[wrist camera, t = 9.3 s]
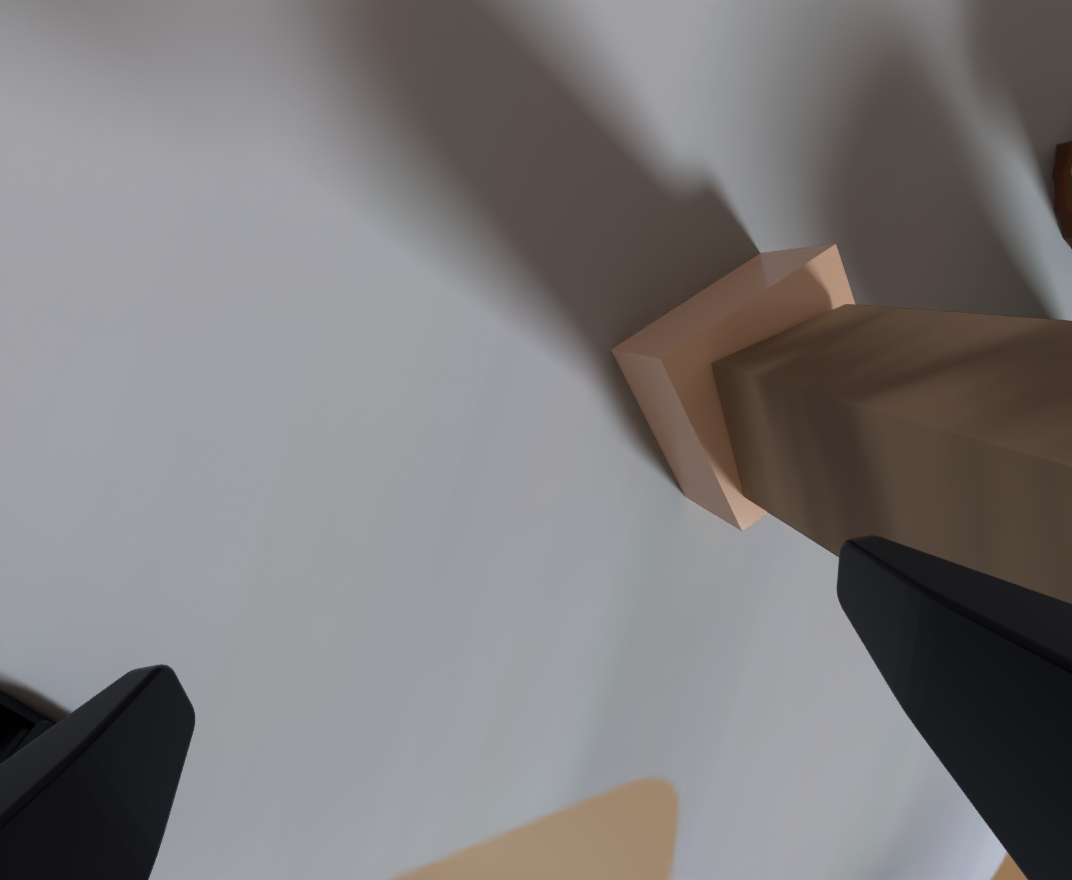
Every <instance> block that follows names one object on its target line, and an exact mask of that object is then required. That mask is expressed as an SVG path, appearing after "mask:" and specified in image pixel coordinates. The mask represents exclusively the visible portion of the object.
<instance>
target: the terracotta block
mask: <svg viewBox="0 0 1072 880" xmlns="http://www.w3.org/2000/svg"><path fill="white" fill-rule="evenodd" d="M844 304H855V301H854V298H853V295H852V292H851V289H850V286H849V283H848V280H847V276H846V273H845V270H844V267H843V264H842V261H841V258H840V255H839V252H838V249H837V246H836V244H831V245H822V246H814V247H806V248H797V249H789V250H781V251H773V252H764V253H759V254H758V255H756V256H755V257H753V258H752V259H750V260H749V261H747V262H745V263H744V264H742V265H741V266H739V267H738V268H736V269H735V270H733V271H732V272H730V273H728V274H727V275H725V276H724V277H722V278H721V279H719V280H718V281H716V282H715V283H713V284H711V285H710V286H708V287H707V288H705V289H704V290H702V291H701V292H699V293H698V294H696V295H694V296H693V297H691V298H690V299H688V300H687V301H685V302H684V303H682V304H681V305H679V306H677V307H676V308H674V309H673V310H671V311H670V312H668V313H667V314H665V315H664V316H662V317H660V318H659V319H657V320H656V321H654V322H653V323H651V324H650V325H648V326H646V327H645V328H643V329H642V330H640V331H639V332H637V333H636V334H634V335H633V336H631V337H629V338H628V339H626V340H625V341H623V342H622V343H620V344H619V345H617V346H616V347H614V348H612V349H611V351H612V353H613V355H614V357H615V359H616V361H617V362H618V364H619V366H620V368H621V370H622V372H623V374H624V376H625V378H626V380H627V382H628V384H629V386H630V388H631V390H632V392H633V394H634V396H635V398H636V400H637V402H638V404H639V406H640V408H641V410H642V412H643V414H644V416H645V418H646V420H647V422H648V424H649V426H650V428H651V430H652V432H653V434H654V436H655V438H656V440H657V442H658V444H659V446H660V448H661V450H662V452H663V454H664V456H665V458H666V460H667V462H668V463H669V465H670V467H671V469H672V471H673V473H674V475H675V477H676V479H677V481H678V483H679V485H680V487H681V489H682V491H683V493H684V495H685V497H687V498H688V499H690V500H691V501H693V502H695V503H696V504H698V505H700V506H701V507H703V508H705V509H706V510H708V511H710V512H711V513H713V514H715V515H716V516H718V517H720V518H721V519H723V520H724V521H726V522H728V523H729V524H731V525H733V526H734V527H736V528H738V529H739V530H741V531H743V530H744V529H746V528H747V527H749V526H750V525H751V524H753V523H754V522H756V521H757V520H758V519H760V518H761V517H762V516H764V515H765V514H767V513H768V512H767V511H765V510H764V509H762V508H760V507H759V506H757V505H756V504H754V503H753V502H751V501H749V500H748V499H746V498H745V497H744V494H743V490H742V486H741V482H740V478H739V474H738V470H737V466H736V462H735V458H734V454H733V450H732V446H731V441H730V437H729V433H728V429H727V425H726V421H725V417H724V413H723V409H722V405H721V401H720V397H719V393H718V389H717V385H716V381H715V377H714V373H713V369H712V365H711V363H712V362H715V361H717V360H719V359H722V358H724V357H726V356H728V355H731V354H733V353H735V352H737V351H740V350H742V349H744V348H747V347H749V346H751V345H753V344H756V343H758V342H760V341H762V340H765V339H767V338H769V337H772V336H774V335H776V334H778V333H781V332H783V331H785V330H788V329H790V328H792V327H794V326H797V325H799V324H801V323H803V322H806V321H808V320H810V319H813V318H815V317H817V316H819V315H822V314H824V313H826V312H828V311H831V310H833V309H835V308H838V307H840V306H842V305H844ZM855 305H856V304H855Z"/></svg>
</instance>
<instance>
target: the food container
mask: <svg viewBox="0 0 1072 880" xmlns="http://www.w3.org/2000/svg"><path fill="white" fill-rule="evenodd" d="M1053 193H1054V210H1055V213H1056V216H1057V220H1058V223H1059V226H1060V229H1061V232H1062V236H1063V238H1064V240H1065V241H1066V242H1067V244H1068V245H1069V246H1070V247H1071V249H1072V141H1070V142H1066V143H1062V144H1058V145H1057V146H1056V153H1055V160H1054V167H1053Z"/></svg>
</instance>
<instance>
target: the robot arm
mask: <svg viewBox="0 0 1072 880" xmlns="http://www.w3.org/2000/svg"><path fill="white" fill-rule="evenodd" d="M837 596H838V599H839V602H840V605H841V607H842V609H843V611H844V612H845V614H846V616H847V617H848V619H849V621H850V622H851V624H852V626H853V627H854V629H855V631H856V632H857V634H858V636H859V637H860V639H861V641H862V642H863V644H864V646H865V647H866V649H867V651H868V652H869V654H870V656H871V657H872V659H873V661H874V662H875V664H876V666H877V667H878V669H879V671H880V672H881V674H882V676H883V678H884V679H885V681H886V683H887V684H888V686H889V688H890V689H891V691H892V693H893V694H894V696H895V697H896V699H897V700H898V702H899V704H900V705H901V707H902V708H903V710H904V711H905V713H906V714H907V716H908V717H909V718H910V720H911V721H912V723H913V724H914V726H915V727H916V728H917V730H918V731H919V732H920V734H921V735H922V737H923V738H924V739H925V741H926V742H927V743H928V745H929V746H930V747H931V749H932V750H933V752H934V753H935V754H936V756H937V757H938V758H939V760H940V761H941V762H942V764H943V765H944V766H945V768H946V769H947V771H948V772H949V773H950V775H951V776H952V777H953V779H954V780H955V781H956V783H957V784H958V785H959V787H960V788H961V790H962V791H963V792H964V794H965V795H966V796H967V798H968V799H969V800H970V802H971V803H972V804H973V806H974V807H975V809H976V810H977V811H978V813H979V814H980V815H981V817H982V818H983V819H984V821H985V822H986V823H987V825H988V826H989V828H990V829H991V830H992V832H993V833H994V834H995V836H996V837H997V838H998V840H999V841H1000V843H1001V844H1002V845H1003V847H1004V848H1005V849H1006V851H1007V852H1008V853H1009V855H1010V856H1011V857H1012V859H1013V860H1014V861H1015V863H1016V864H1017V866H1018V867H1019V868H1020V870H1021V871H1022V872H1023V874H1024V875H1025V876H1026V878H1027V879H1028V880H1072V604H1071V603H1068V602H1065V601H1062V600H1059V599H1056V598H1054V597H1051V596H1048V595H1045V594H1042V593H1039V592H1036V591H1034V590H1031V589H1028V588H1025V587H1022V586H1019V585H1016V584H1014V583H1011V582H1008V581H1005V580H1002V579H999V578H996V577H994V576H991V575H988V574H985V573H982V572H979V571H977V570H974V569H971V568H968V567H965V566H962V565H959V564H957V563H954V562H951V561H948V560H945V559H942V558H940V557H937V556H934V555H931V554H928V553H925V552H922V551H920V550H917V549H914V548H911V547H908V546H905V545H903V544H900V543H897V542H894V541H891V540H888V539H885V538H883V537H880V536H876V535H869V536H863V537H858V538H852V539H848V540H846V541H844V542H843V543H842V545H841V547H840V553H839V566H838V578H837ZM194 726H195V713H194V708H193V706H192V704H191V702H190V700H189V698H188V696H187V695H186V693H185V691H184V689H183V687H182V685H181V683H180V682H179V680H178V678H177V676H176V674H175V672H174V671H173V669H172V668H170V667H169V666H167V665H155V666H149V667H144V668H138V669H134V670H132V671H130V672H128V673H126V674H125V675H124V676H122V677H121V678H119V679H118V680H117V681H115V682H114V683H112V684H111V685H110V686H108V687H107V688H106V689H104V690H103V691H101V692H100V693H99V694H97V695H96V696H94V697H93V698H92V699H90V700H89V701H87V702H86V703H85V704H83V705H82V706H81V707H79V708H78V709H76V710H75V711H74V712H72V713H71V714H69V715H68V716H67V717H65V718H64V719H63V720H61V721H60V722H58V723H55V722H53V721H52V720H50V719H48V718H46V717H45V716H43V715H41V714H40V713H38V712H36V711H35V710H33V709H31V708H30V707H28V706H26V705H24V704H23V703H21V702H19V701H18V700H16V699H14V698H13V697H11V696H9V695H8V694H6V693H4V692H2V691H1V690H0V880H149V877H150V874H151V871H152V869H153V866H154V863H155V860H156V857H157V855H158V851H159V848H160V845H161V842H162V839H163V836H164V833H165V829H166V826H167V822H168V819H169V815H170V812H171V808H172V805H173V801H174V798H175V794H176V791H177V787H178V784H179V780H180V777H181V773H182V770H183V766H184V763H185V759H186V756H187V752H188V749H189V745H190V742H191V738H192V735H193V731H194Z"/></svg>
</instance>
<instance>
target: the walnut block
mask: <svg viewBox="0 0 1072 880" xmlns="http://www.w3.org/2000/svg"><path fill="white" fill-rule="evenodd" d="M711 365H712V369H713V373H714V377H715V381H716V385H717V389H718V393H719V397H720V401H721V405H722V409H723V413H724V417H725V421H726V425H727V429H728V433H729V437H730V441H731V446H732V450H733V454H734V458H735V462H736V466H737V470H738V474H739V478H740V482H741V486H742V490H743V494H744V497H745V498H746V499H748V500H749V501H751V502H753V503H754V504H756V505H757V506H759V507H760V508H762V509H764V510H765V511H767V512H768V513H770V514H771V515H773V516H775V517H776V518H778V519H779V520H781V521H782V522H784V523H786V524H787V525H789V526H790V527H792V528H794V529H795V530H797V531H798V532H800V533H801V534H803V535H805V536H806V537H808V538H809V539H811V540H812V541H814V542H816V543H817V544H819V545H820V546H822V547H823V548H825V549H827V550H828V551H830V552H831V553H833V554H835V555H836V556H838V557H839V553H840V547H841V545H842V543H843V542H844V541H846V540H848V539H852V538H858V537H863V536H869V535H876V536H880V537H883V538H885V539H888V540H891V541H894V542H897V543H900V544H903V545H905V546H908V547H911V548H914V549H917V550H920V551H922V552H925V553H928V554H931V555H934V556H937V557H940V558H942V559H945V560H948V561H951V562H954V563H957V564H959V565H962V566H965V567H968V568H971V569H974V570H977V571H979V572H982V573H985V574H988V575H991V576H994V577H996V578H999V579H1002V580H1005V581H1008V582H1011V583H1014V584H1016V585H1019V586H1022V587H1025V588H1028V589H1031V590H1034V591H1036V592H1039V593H1042V594H1045V595H1048V596H1051V597H1054V598H1056V599H1059V600H1062V601H1065V602H1068V603H1071V604H1072V321H1067V320H1054V319H1041V318H1027V317H1014V316H1001V315H988V314H974V313H961V312H948V311H935V310H921V309H908V308H895V307H882V306H868V305H855V304H844V305H842V306H840V307H838V308H835V309H833V310H831V311H828V312H826V313H824V314H822V315H819V316H817V317H815V318H813V319H810V320H808V321H806V322H803V323H801V324H799V325H797V326H794V327H792V328H790V329H788V330H785V331H783V332H781V333H778V334H776V335H774V336H772V337H769V338H767V339H765V340H762V341H760V342H758V343H756V344H753V345H751V346H749V347H747V348H744V349H742V350H740V351H737V352H735V353H733V354H731V355H728V356H726V357H724V358H722V359H719V360H717V361H715V362H712V363H711Z"/></svg>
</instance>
